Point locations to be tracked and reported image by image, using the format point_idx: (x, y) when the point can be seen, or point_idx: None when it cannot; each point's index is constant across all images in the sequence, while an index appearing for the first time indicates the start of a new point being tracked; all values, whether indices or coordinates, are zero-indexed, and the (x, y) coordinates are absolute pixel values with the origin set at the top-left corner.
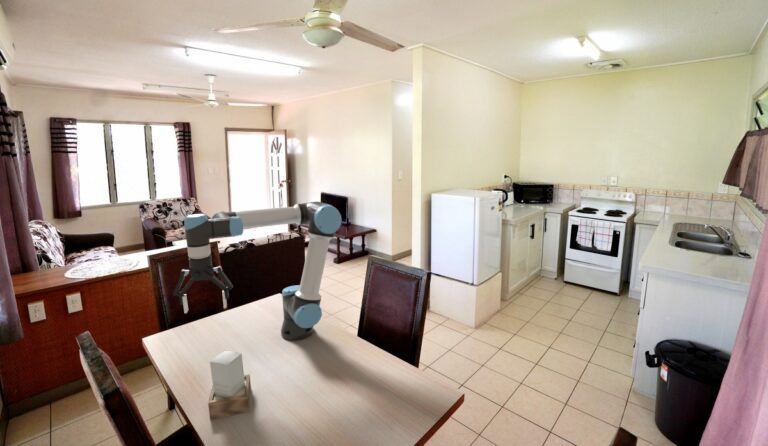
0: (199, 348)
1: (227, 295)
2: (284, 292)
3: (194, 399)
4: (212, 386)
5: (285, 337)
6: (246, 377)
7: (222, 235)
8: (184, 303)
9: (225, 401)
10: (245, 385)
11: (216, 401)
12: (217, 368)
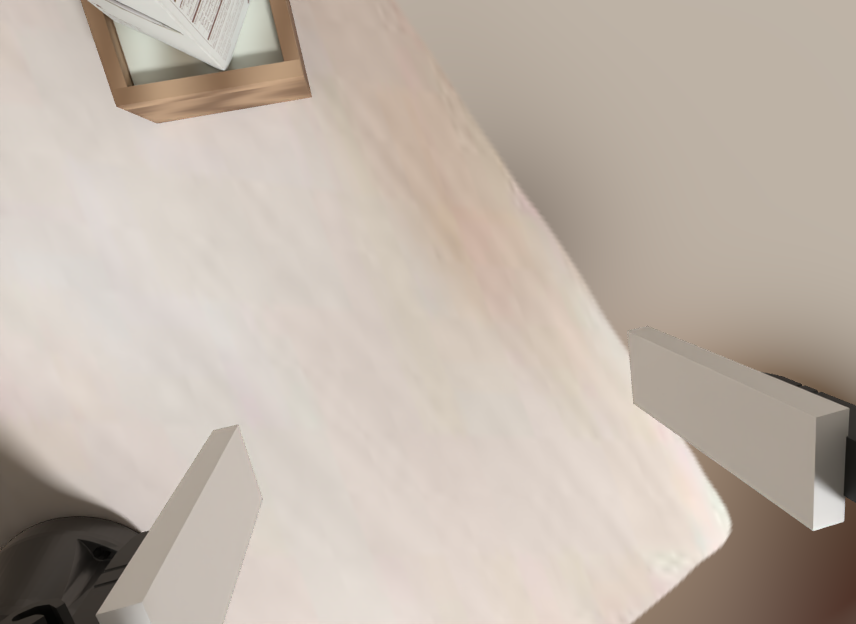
0: (514, 460)
1: (105, 580)
2: None
3: (397, 87)
4: (288, 19)
5: (122, 533)
6: (122, 76)
7: None
8: (726, 367)
9: None
10: (116, 27)
11: None
12: None
